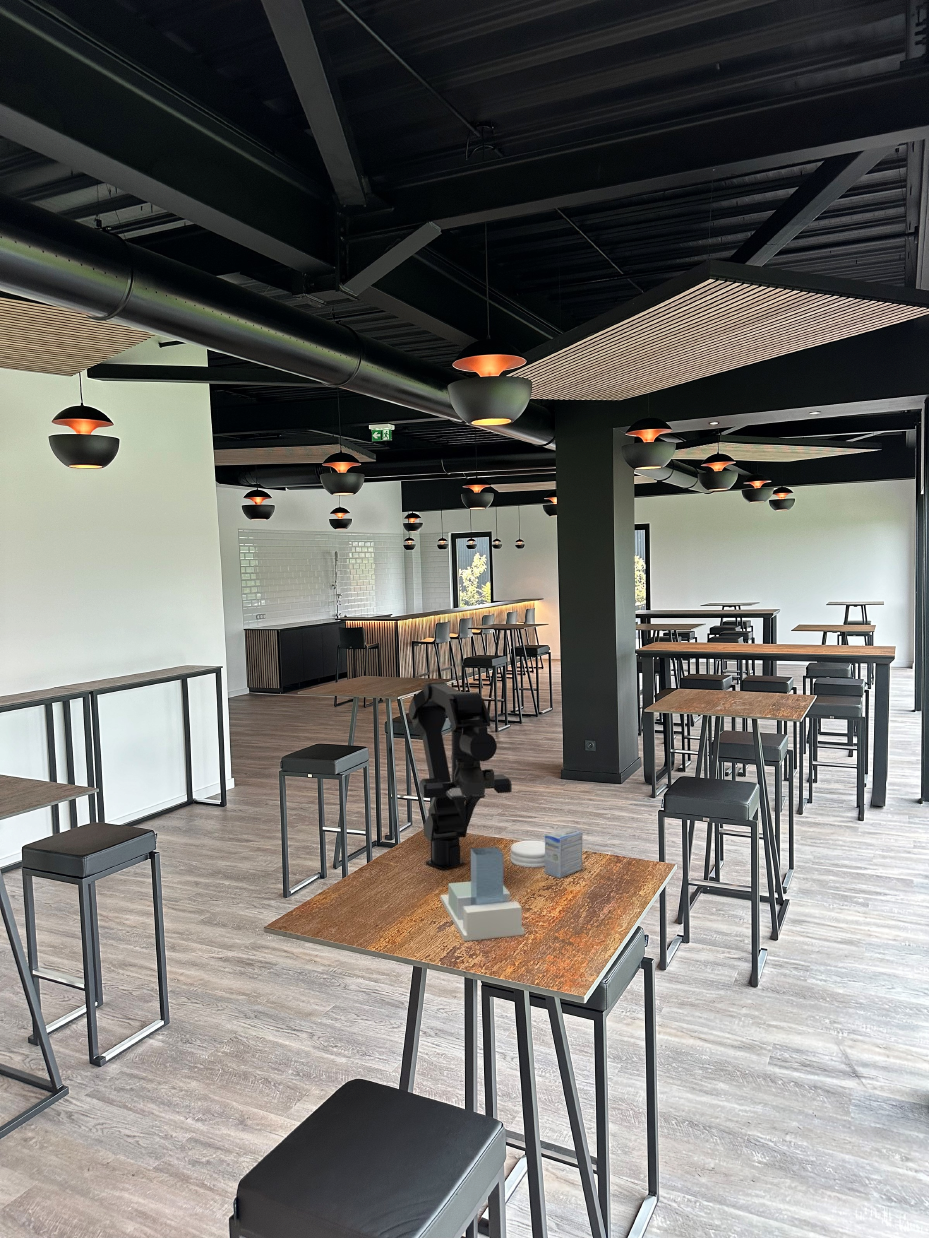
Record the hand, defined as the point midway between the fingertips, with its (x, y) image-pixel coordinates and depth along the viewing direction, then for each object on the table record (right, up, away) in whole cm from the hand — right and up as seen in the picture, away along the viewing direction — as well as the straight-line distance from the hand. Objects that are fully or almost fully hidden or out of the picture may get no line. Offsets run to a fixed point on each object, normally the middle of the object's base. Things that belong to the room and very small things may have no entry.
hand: (465, 826), depth 172 cm
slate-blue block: (+4, -12, -22) cm, 26 cm away
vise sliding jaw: (+2, -11, -17) cm, 20 cm away
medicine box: (+21, -12, +7) cm, 26 cm away
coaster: (+15, -12, +15) cm, 24 cm away
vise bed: (+3, -13, -18) cm, 22 cm away
